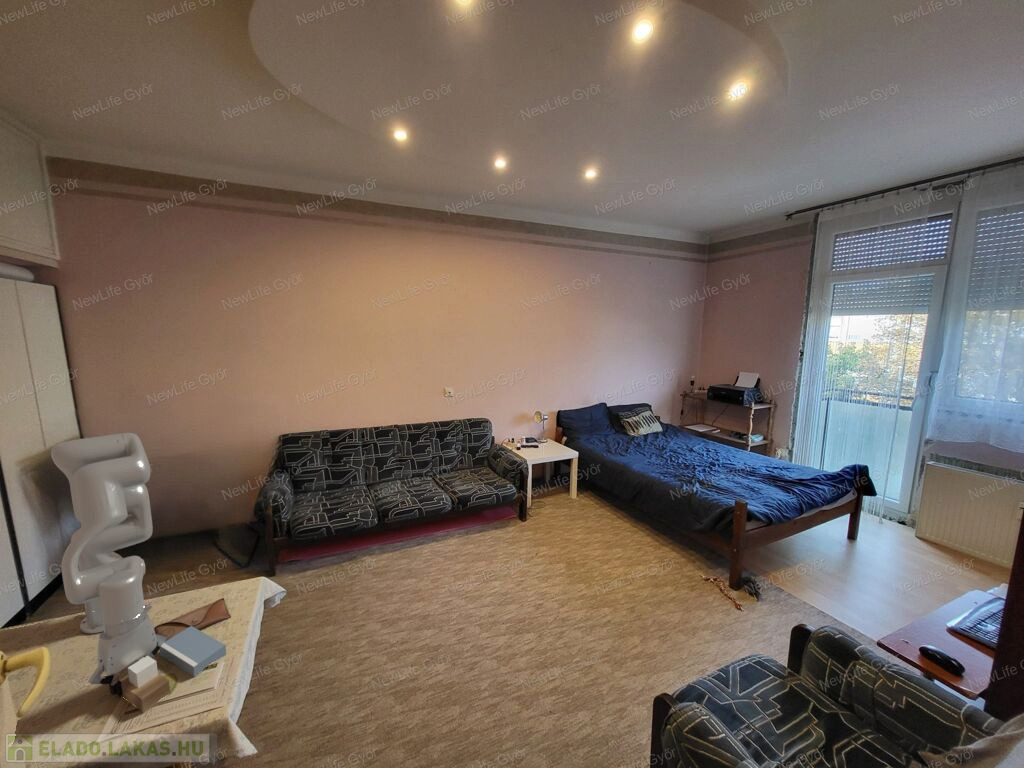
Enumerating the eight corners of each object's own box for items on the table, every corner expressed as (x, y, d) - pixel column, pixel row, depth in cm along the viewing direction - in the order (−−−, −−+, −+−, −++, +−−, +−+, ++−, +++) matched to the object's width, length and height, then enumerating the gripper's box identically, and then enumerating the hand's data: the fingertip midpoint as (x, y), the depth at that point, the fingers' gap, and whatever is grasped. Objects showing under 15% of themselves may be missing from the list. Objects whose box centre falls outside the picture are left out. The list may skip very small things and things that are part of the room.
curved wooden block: (108, 686, 101) (106, 673, 100) (135, 669, 106) (133, 656, 105) (143, 713, 95) (141, 699, 94) (170, 694, 100) (169, 680, 99)
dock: (160, 654, 111) (158, 644, 110) (192, 634, 118) (191, 625, 118) (194, 677, 105) (193, 666, 104) (226, 654, 112) (225, 644, 112)
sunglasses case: (159, 651, 112) (154, 627, 113) (155, 650, 116) (151, 627, 117) (233, 616, 126) (229, 595, 127) (228, 617, 130) (223, 596, 131)
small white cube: (129, 681, 99) (127, 667, 98) (149, 668, 102) (147, 655, 102) (138, 688, 97) (136, 673, 96) (158, 675, 101) (156, 661, 100)
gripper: (158, 595, 108) (164, 653, 111) (69, 640, 92) (79, 707, 95) (174, 603, 105) (180, 663, 108) (85, 652, 89) (95, 720, 92)
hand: (133, 683), depth 101 cm, fingers closed on curved wooden block, 5 cm apart
